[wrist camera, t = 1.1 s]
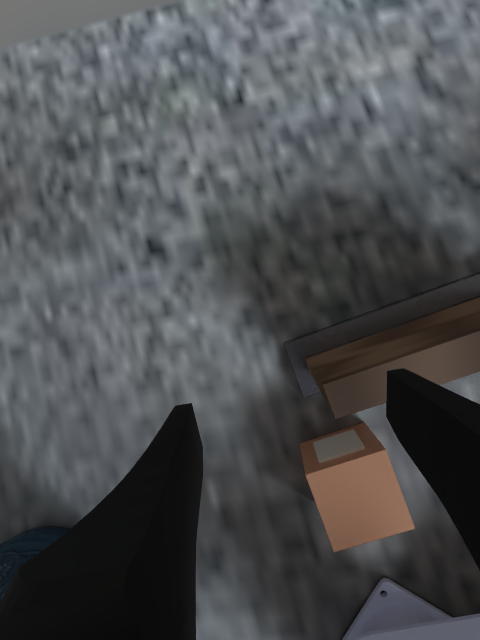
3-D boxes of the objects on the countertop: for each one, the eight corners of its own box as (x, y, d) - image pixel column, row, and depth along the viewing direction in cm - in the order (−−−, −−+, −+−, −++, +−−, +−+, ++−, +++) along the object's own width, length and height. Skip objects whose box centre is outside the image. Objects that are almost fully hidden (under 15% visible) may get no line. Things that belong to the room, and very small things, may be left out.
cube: (322, 506, 26) (334, 552, 21) (298, 440, 26) (304, 471, 21) (387, 485, 26) (415, 528, 21) (363, 419, 26) (384, 446, 21)
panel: (311, 377, 24) (335, 419, 15) (304, 356, 24) (322, 384, 15) (515, 307, 23) (673, 306, 14) (507, 284, 23) (659, 269, 14)
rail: (302, 393, 26) (303, 397, 25) (283, 342, 26) (284, 344, 25) (641, 277, 24) (661, 275, 22) (621, 221, 24) (639, 216, 22)
